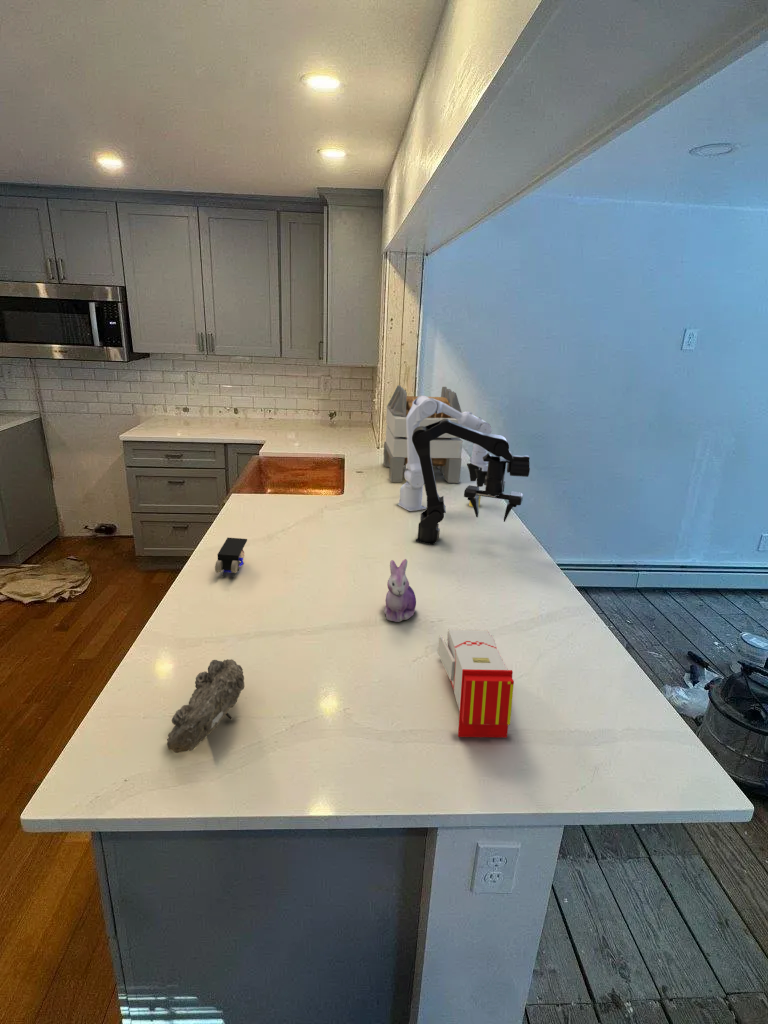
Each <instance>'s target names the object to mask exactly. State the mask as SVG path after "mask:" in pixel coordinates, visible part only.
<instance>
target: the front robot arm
mask: <svg viewBox="0 0 768 1024" xmlns="http://www.w3.org/2000/svg"><path fill="white" fill-rule="evenodd" d="M445 433H448V434H450V435H453V436H456V437H458V438H460V439H461V440H464V441H467V442H468V443H472V444H473V443H475V444H477V445H479V446H481V447H483V448H484V449H485V450H487V455H485V456H484V457H483V461H485V462H488V464H487V466H488V469H487V476H485V480H484V484H483V486H485V488H484V490H483V489H480V487H478V486H477V485H470V484H469V485H468V486H466V488H465V489H464V492H463V498H467V500H468V501H469V500H470V501H471V503H472V506H473V507H472V508H473V512H474V514H475V518H479V511H480V510H479V509H480V506H479V496H481V497H485V498H486V497H487V498H493V499H499V500H505V501H508V502H507V504H506V507H505V512H504V515H503V516H504V517H503V522H504V523H505V522H506V520H507V518H508V516H509V514H510V512H511V510H512V509H513V508H517V506H521V505H522V503H523V498H524V494H523V493H522V492H520V491H519V492H518V491H513V490H512V491H510V493H504V492H505V486H506V481H505V475H506V473H508V474H509V476H510V477H522V478H523V477H525V478H528V477H529V475H530V472H531V467H530V456H529V455H513V453H512V451H510V444H509V442H508V440H507V438H506V437H504V436H503V435H500V434H495V433H491V434H488V433H482V432H479V431H476V430H474V429H471V428H468V427H466V426H463V425H460V424H457V423H455V422H452V421H450V420H449V419H442V420H441V421H439V422H436V423H433V424H430V425H428V426H425V427H424V426H419V427H417V428H415V430H414V431H413V435H412V442H413V444H414V447H415V449H416V452H417V454H418V456H419V459H420V464H421V469H422V474H423V479H424V489H425V490H424V491H425V494H426V509H424V511H423V512H421V513H420V521H419V522H418V527H417V538H416V539H415V542H417V543H421V544H425V545H430V546H435V544H436V543H437V542H438V541H439V540H440V532H441V528H439V526H440V524H439V523H441V522H442V521H443V520H444V519H445V514H446V513H447V508H446V504H445V500H444V495H442V496H440V495H439V492H438V488H437V483H436V478H435V472H434V466H432V461H431V456H430V441H432V440H434V439H436V438H437V437H439V436H441V435H443V434H445Z"/></svg>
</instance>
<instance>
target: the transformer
mask: <svg viewBox="0 0 768 1024" xmlns="http://www.w3.org/2000/svg"><path fill="white" fill-rule="evenodd" d="M440 393H441V394H440V396H428V397H429V398H430V399H431V398H433V399H436V400H439V401H441V402H443V403H445V404H447V405H448V406H450V407H452V408H454V409H455V410H457V411H459V412H461V413H462V412H463V411H462V408H461V405H460V402H459V398H458V395H457V392H455V391H453V390H452V389H451V388H447V386H442V387H441V392H440ZM407 394H408V393H407V390H406V389H404V388H403V387H402V385H399V384H398V385H397V386H396V388H395V390H394V392H393V394H392V395H391V398H390V400H389V402H388V404H387V405H386V413H385V414H386V415H385V423H386V428H385V438H384V442H383V466H384V467H388V468H389V475H388V476H389V477H388V478H389V480H390V482H391V483H402V482H403V476H404V469H405V466H406V464H407V463H408V458H407V430H406V417H407V415H408V413H409V411H410V409H411V407H412V404H413V401H414V400H415V399H416V398H418V397H419V396H415V395H414V396H413V395H412V396H411V395H407ZM442 419H449V420H450V421H452V422H455V423H457V424H458V420H457V419H455V418H453V417H451V416H449V415H447V414H445V413H442V412H441V413H438V414H437V413H434V414H433V415H431V416H429V417H427V418H425V419H424V420H423V421H422V422H421V423H420V426H424V427H425V426H428V425H430V424H433V423H436V422H439V421H441V420H442ZM463 442H464V441H463V439H461V438H458V437H456V436H453V435H450V434H448V433H445V434H443V435H441V436H439V437H437V438H436V439H434V440H432V441H430V456H431V461H432V466H433V467H436V468H437V470H438V469H439V473H440V474H441V475H443V478H444V479H445V481H446V482H447V483H449V484H455V483H456V484H459V483H461V472H462V461H463V460H462V453H463Z"/></svg>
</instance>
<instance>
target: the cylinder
mask: <svg viewBox="0 0 768 1024" xmlns="http://www.w3.org/2000/svg"><path fill="white" fill-rule="evenodd" d="M481 498H482V496H479V507H480V506H481V500H482V499H481ZM468 506H469V507H471V508H473V506H472V503H471V501H470V500H468Z"/></svg>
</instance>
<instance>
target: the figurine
mask: <svg viewBox="0 0 768 1024" xmlns="http://www.w3.org/2000/svg"><path fill="white" fill-rule="evenodd" d="M407 567H408V559H406V558H404V559H403V560H402V561H401V563H400V565H399V566H398V565H397V563H396V562H395V561H394V560H393V559H391V560H390V561H389V570H390V576H389V578H388V579H387V589H388V591H387V592H386V594H385V595H386V596H385V607H384V615H385V616H386V620H387V621H391V622H395V623H400V622H402V621H406V620H409V619H410V618H411V617H413V616H414V615H415V610H416V606H417V597H416V593H415V591H414V590H413V587H411V586H410V582H409V579H408V577H407V574H406V571H407Z"/></svg>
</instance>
